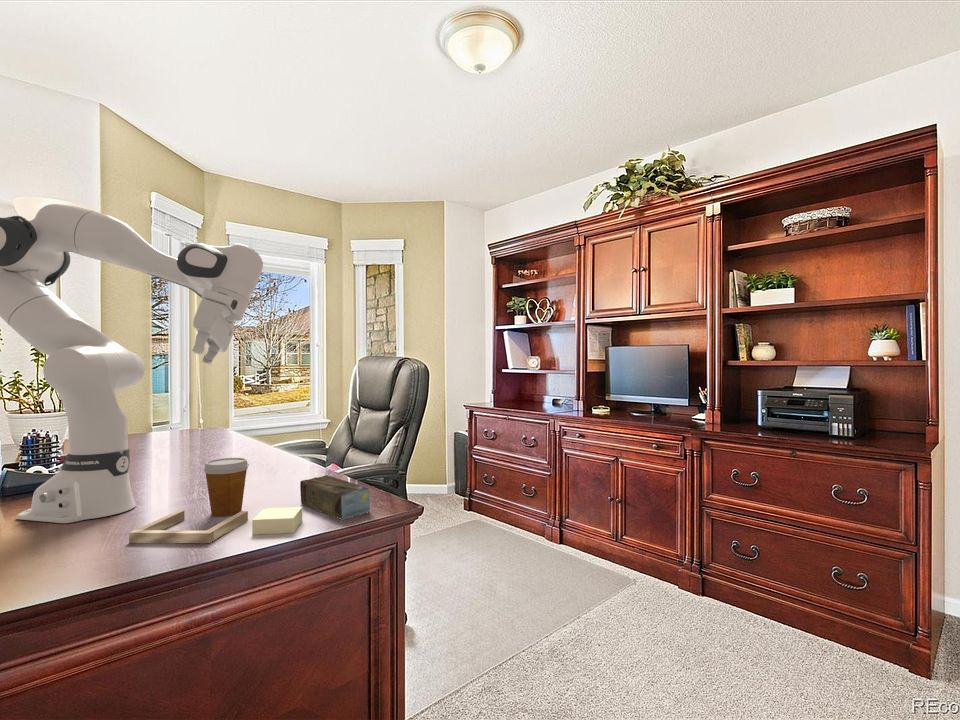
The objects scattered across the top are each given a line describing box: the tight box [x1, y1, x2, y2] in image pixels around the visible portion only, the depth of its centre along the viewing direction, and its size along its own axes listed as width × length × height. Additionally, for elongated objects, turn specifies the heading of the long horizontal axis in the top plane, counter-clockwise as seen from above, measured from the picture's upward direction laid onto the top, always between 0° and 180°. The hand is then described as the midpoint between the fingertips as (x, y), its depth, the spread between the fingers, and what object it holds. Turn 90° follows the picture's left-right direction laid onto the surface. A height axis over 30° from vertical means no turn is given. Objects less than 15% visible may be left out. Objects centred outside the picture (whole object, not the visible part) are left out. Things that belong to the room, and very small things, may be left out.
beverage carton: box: [299, 474, 371, 520], centre depth 119 cm, size 8×19×7 cm, turn 47°
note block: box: [251, 506, 303, 536], centre depth 106 cm, size 8×8×3 cm
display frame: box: [128, 510, 249, 544], centre depth 104 cm, size 16×14×2 cm
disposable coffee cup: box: [202, 457, 250, 517], centre depth 116 cm, size 10×10×12 cm
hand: (201, 358), depth 117 cm, fingers open, 8 cm apart
